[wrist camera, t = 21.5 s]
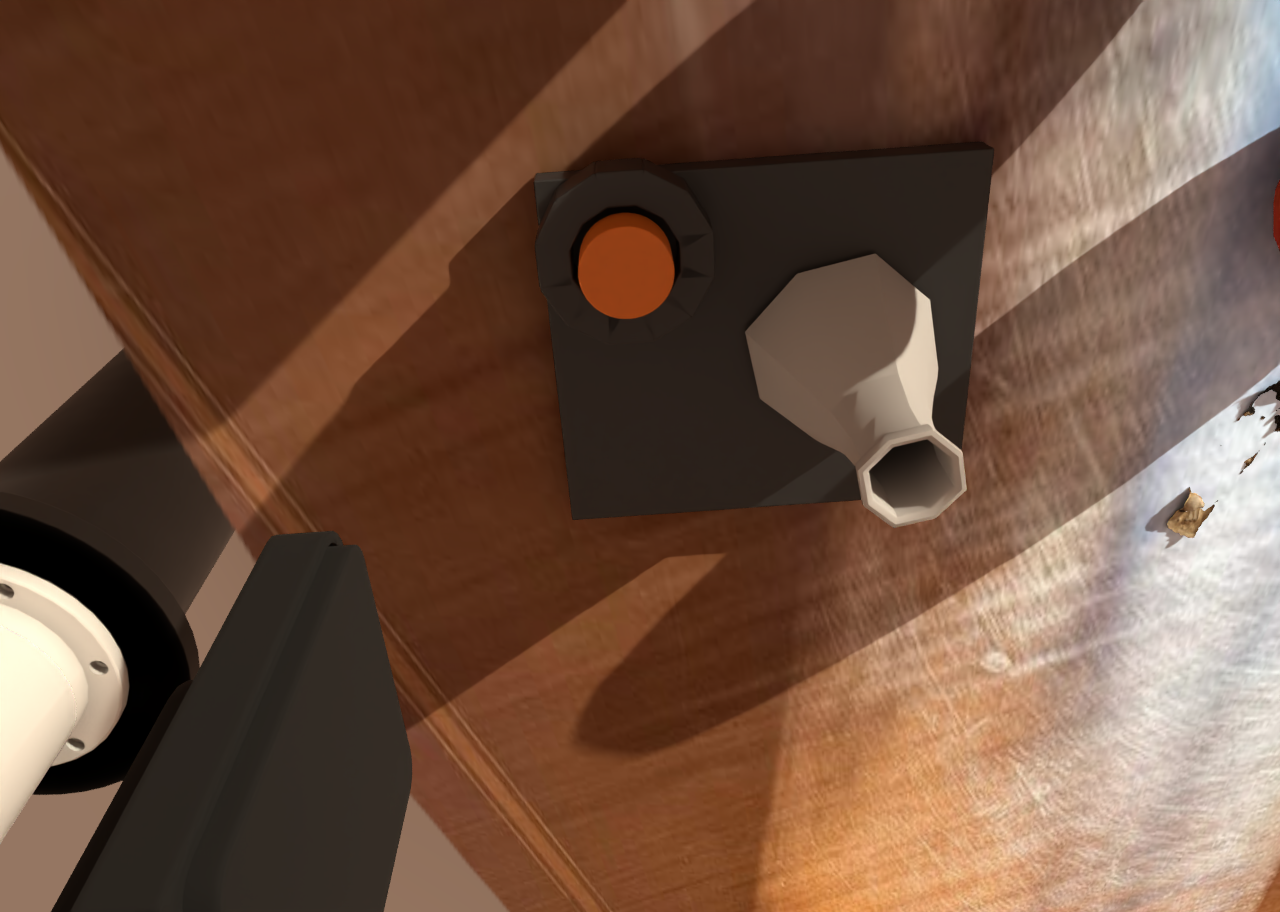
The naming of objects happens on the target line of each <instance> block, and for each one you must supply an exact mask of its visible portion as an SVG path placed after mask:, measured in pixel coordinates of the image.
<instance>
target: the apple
mask: <svg viewBox="0 0 1280 912" xmlns="http://www.w3.org/2000/svg"><path fill="white" fill-rule="evenodd" d="M1273 236H1274V238H1275V241H1276V243H1277V246H1278V248H1279V250H1280V180H1279V182H1278V185H1277V187H1276V189H1275V196H1274V202H1273Z"/></svg>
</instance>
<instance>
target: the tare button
mask: <svg viewBox="0 0 1280 912" xmlns="http://www.w3.org/2000/svg"><path fill="white" fill-rule="evenodd" d="M674 276H675V269H674V262H673V257H672V251H671V247H670V243H669V241H668V238H667V236H666V235H665V233H664V232H663V230H662V229H661V228H660V227H659V226H658V225H657V224H656V223H655V222H653V221H652V220H651V219H649V218H647V217H645V216H642V215H640V214H636V213H629V212H622V213H615V214H612V215H609V216H606V217H604V218H602V219H601V220H599V221H598V222H596V223H595V224H594V225H593V226H592V227H591V228H590V229H589V231H588V232H587V233H586V235H585V237H584V238H583V241H582V243H581V247H580V253H579V264H578V279H579V284H580V287H581V290H582V292H583V294H584V296H585V297H586V299H587V300H588V301H589V303H590V304H591V305H592V306H593V307H594V308H596V309H597V310H598V311H600V312H602V313H603V314H605V315H608V316H611V317H614V318H619V319H633V318H638V317H642V316H644V315H647V314H649V313H651V312H653V311H654V310H655V309H657V308H658V307H659V306H660V305H661V304H662V303H663V302H664V301H665V300H666V298H667V297H668V295H669V293H670V291H671V289H672V286H673V282H674Z"/></svg>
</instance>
